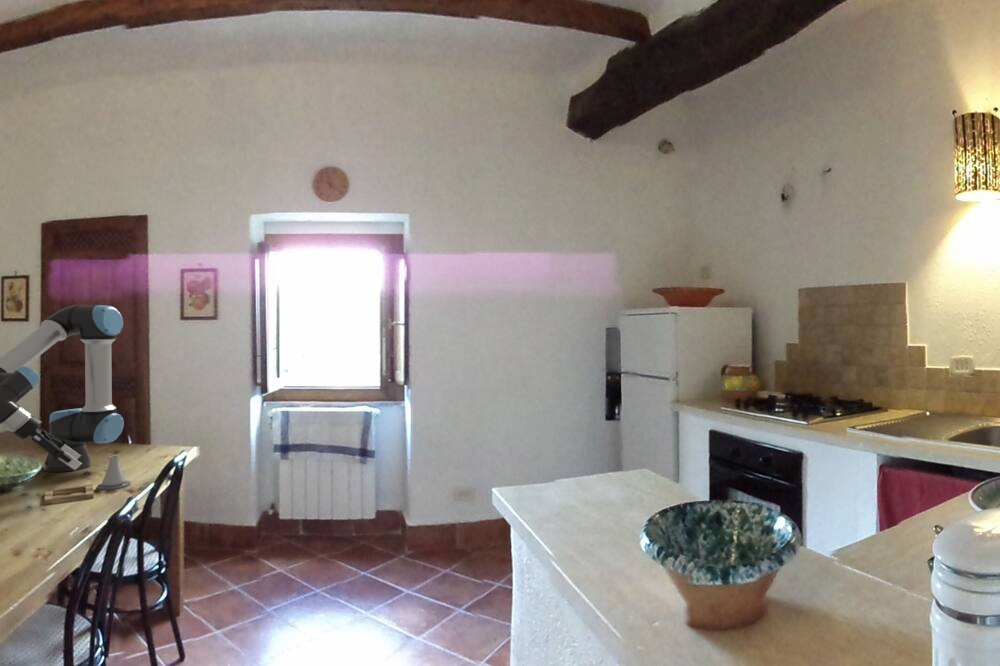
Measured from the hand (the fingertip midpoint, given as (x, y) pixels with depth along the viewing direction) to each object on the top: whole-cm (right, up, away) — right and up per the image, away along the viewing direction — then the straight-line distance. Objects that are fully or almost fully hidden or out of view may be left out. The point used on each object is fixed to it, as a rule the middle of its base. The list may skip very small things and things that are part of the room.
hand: (78, 462), depth 205 cm
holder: (+2, -10, -6) cm, 12 cm away
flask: (+8, -9, +6) cm, 14 cm away
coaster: (+8, -10, +6) cm, 14 cm away
